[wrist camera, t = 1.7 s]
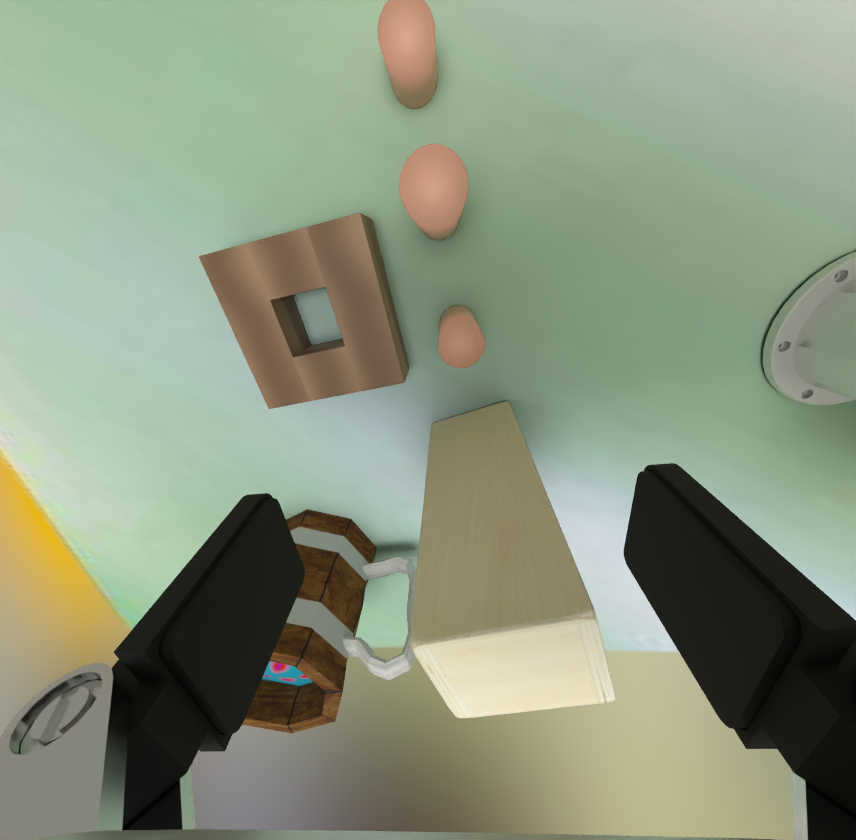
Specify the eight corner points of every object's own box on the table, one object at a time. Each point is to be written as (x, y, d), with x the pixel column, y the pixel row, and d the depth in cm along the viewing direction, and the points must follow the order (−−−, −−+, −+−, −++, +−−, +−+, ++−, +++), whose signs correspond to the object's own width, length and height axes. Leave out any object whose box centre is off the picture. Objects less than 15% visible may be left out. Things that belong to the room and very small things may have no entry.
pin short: (431, 40, 21) (428, -18, 17) (441, 101, 22) (440, 62, 18) (386, 56, 22) (370, 2, 17) (398, 115, 23) (386, 79, 18)
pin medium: (472, 301, 28) (481, 316, 21) (477, 337, 29) (487, 363, 22) (436, 309, 28) (433, 326, 21) (443, 344, 29) (442, 371, 22)
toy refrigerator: (452, 481, 36) (459, 730, 17) (428, 423, 33) (406, 645, 14) (526, 461, 34) (624, 710, 15) (508, 399, 31) (602, 611, 13)
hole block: (372, 219, 26) (359, 212, 22) (409, 368, 31) (404, 382, 27) (231, 256, 27) (198, 256, 24) (288, 392, 32) (268, 409, 29)
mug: (290, 591, 45) (223, 734, 32) (252, 514, 39) (151, 648, 26) (434, 582, 43) (429, 731, 29) (416, 499, 37) (400, 636, 24)
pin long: (454, 188, 24) (462, 134, 14) (461, 234, 26) (473, 217, 15) (414, 199, 25) (391, 155, 14) (423, 244, 26) (408, 234, 15)
